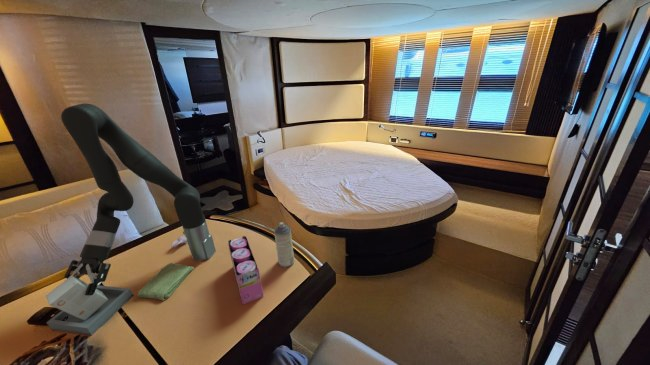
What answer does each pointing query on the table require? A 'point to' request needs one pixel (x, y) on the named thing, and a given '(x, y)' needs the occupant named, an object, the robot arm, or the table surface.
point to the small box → (75, 298)
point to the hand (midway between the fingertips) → (78, 294)
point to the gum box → (245, 270)
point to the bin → (98, 318)
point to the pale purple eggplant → (179, 240)
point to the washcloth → (165, 281)
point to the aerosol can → (284, 245)
